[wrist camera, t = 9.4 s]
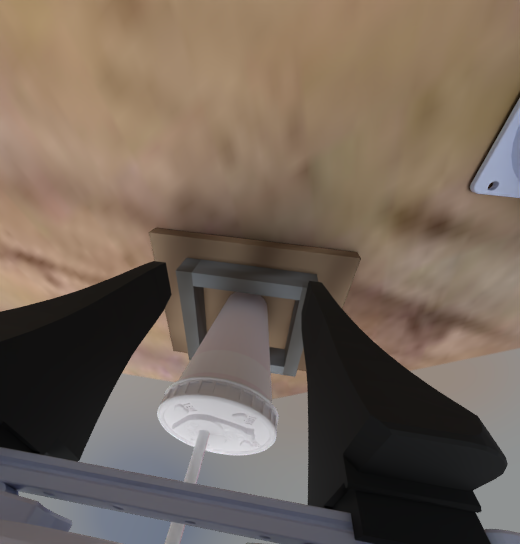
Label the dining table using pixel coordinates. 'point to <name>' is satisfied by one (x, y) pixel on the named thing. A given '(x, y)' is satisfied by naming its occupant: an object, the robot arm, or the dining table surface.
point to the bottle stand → (246, 286)
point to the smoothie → (224, 391)
